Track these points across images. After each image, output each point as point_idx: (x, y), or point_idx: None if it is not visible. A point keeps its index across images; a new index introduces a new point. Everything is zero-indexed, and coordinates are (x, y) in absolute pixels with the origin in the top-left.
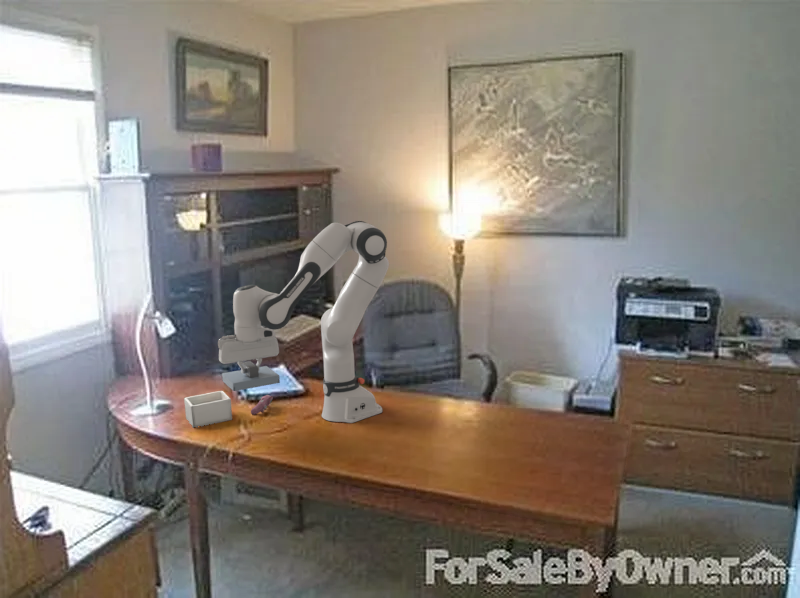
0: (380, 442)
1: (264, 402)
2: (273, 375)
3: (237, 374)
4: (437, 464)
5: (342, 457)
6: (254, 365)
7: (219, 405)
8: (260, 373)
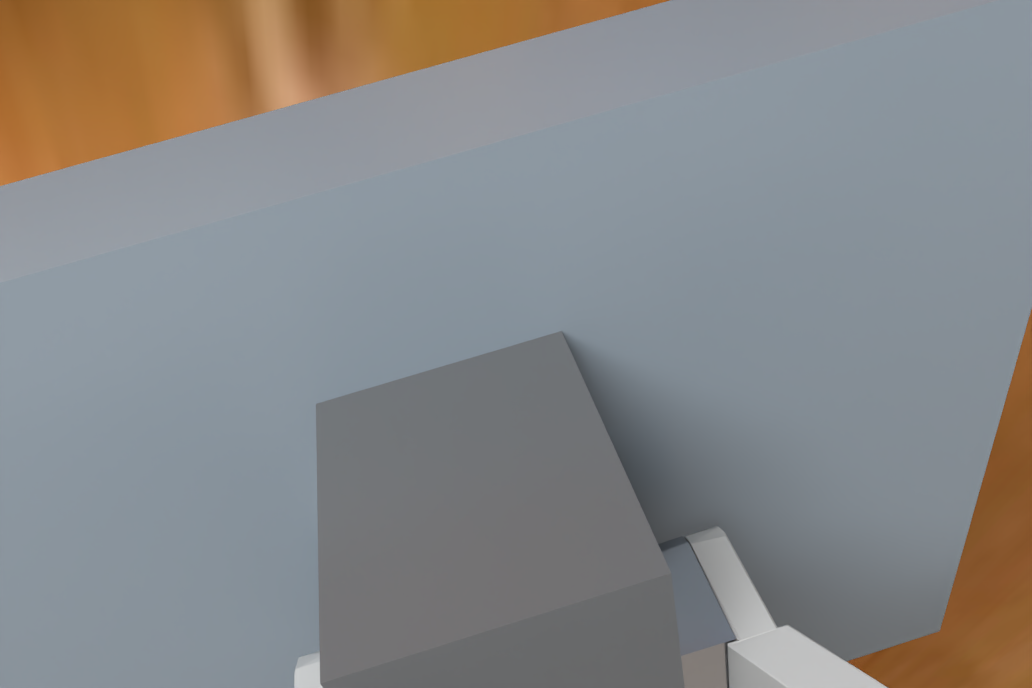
0: (1016, 485)
1: None
2: (863, 634)
3: (188, 553)
4: (1028, 646)
5: None
6: None
7: None
8: None
